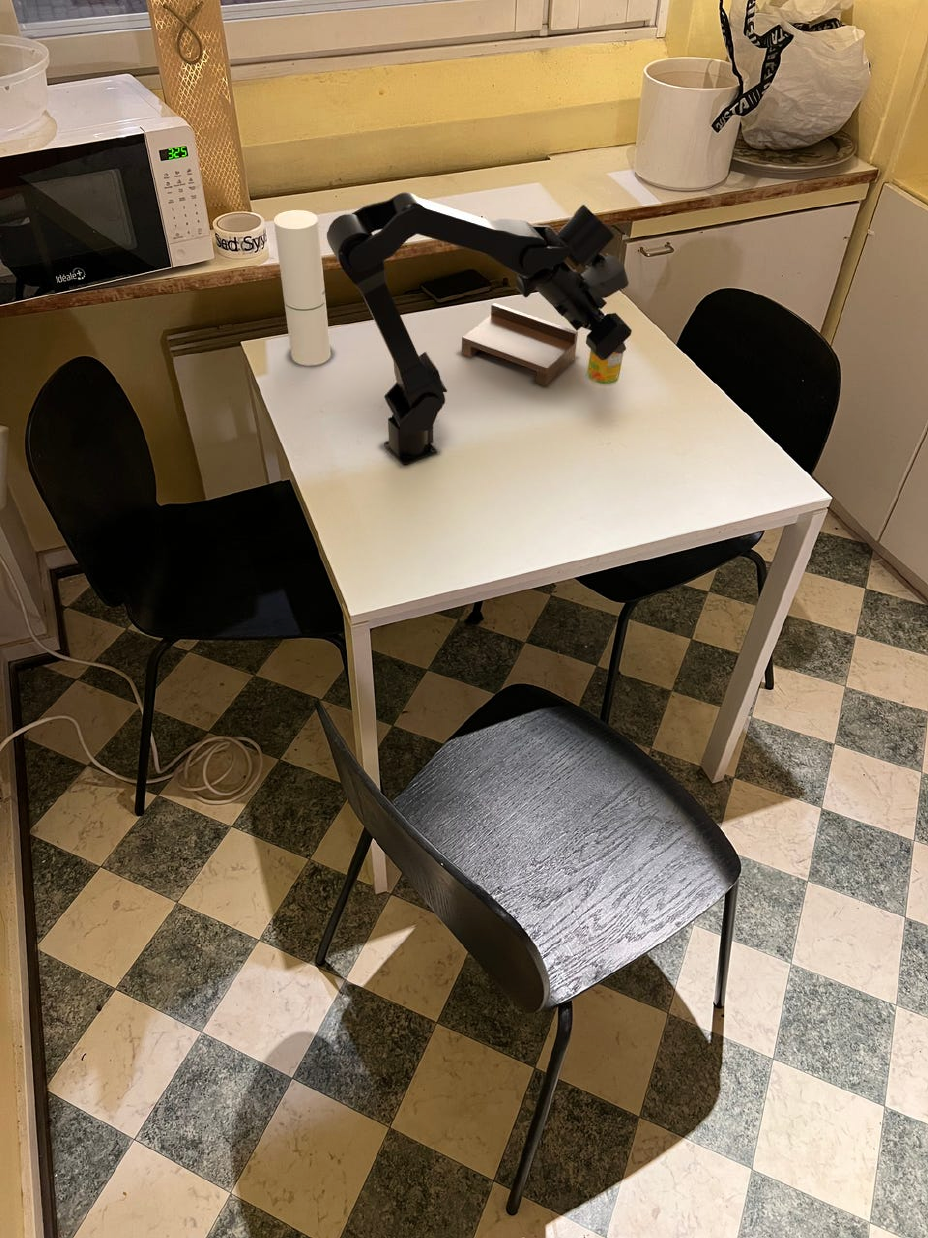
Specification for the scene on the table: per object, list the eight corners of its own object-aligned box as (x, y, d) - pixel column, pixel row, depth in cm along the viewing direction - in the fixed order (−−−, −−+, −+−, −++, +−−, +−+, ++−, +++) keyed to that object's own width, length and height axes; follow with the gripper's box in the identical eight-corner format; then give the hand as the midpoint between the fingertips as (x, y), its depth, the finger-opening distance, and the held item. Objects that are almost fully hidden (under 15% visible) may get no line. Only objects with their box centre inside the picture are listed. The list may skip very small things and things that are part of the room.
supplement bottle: (580, 373, 154) (588, 320, 146) (607, 367, 155) (616, 314, 148) (596, 390, 150) (605, 336, 143) (624, 383, 152) (634, 330, 145)
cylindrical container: (334, 346, 170) (321, 211, 152) (326, 366, 165) (312, 230, 147) (296, 343, 170) (279, 208, 152) (287, 363, 166) (269, 227, 147)
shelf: (545, 385, 163) (548, 358, 159) (461, 354, 169) (462, 327, 165) (574, 358, 169) (578, 331, 165) (492, 329, 176) (494, 302, 171)
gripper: (630, 274, 129) (682, 333, 140) (574, 218, 140) (626, 277, 151) (573, 333, 132) (628, 386, 143) (523, 274, 144) (577, 327, 155)
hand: (615, 341), depth 148 cm, fingers closed on supplement bottle, 5 cm apart
